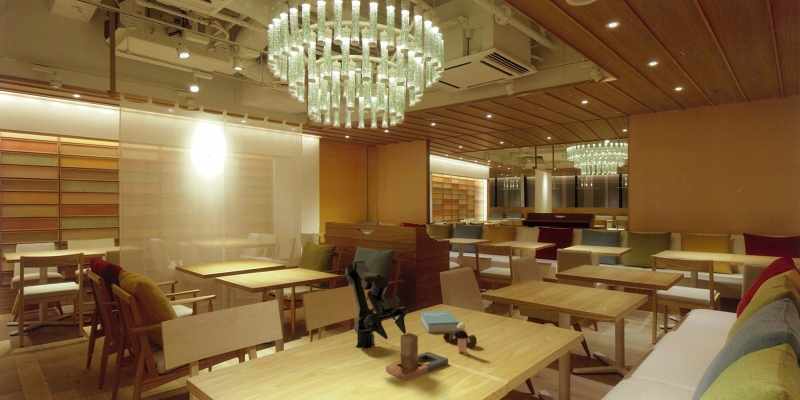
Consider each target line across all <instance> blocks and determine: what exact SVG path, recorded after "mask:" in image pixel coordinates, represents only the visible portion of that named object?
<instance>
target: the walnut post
mask: <svg viewBox="0 0 800 400" xmlns="http://www.w3.org/2000/svg"><path fill="white" fill-rule="evenodd" d="M418 336H419V335H417V334H414V333H410V332H408V333H407V332H406V333H405V334H404V333H403V334H401V335H400V361H401V367H402V368H404V369H406V370H412V369H415V368H417V367H418V355H419V343H418V342H419V340H418V338H419V337H418Z"/></svg>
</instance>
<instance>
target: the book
mask: <svg viewBox="0 0 800 400" xmlns="http://www.w3.org/2000/svg"><path fill="white" fill-rule="evenodd" d="M419 313H420V322H421V325H423V327H424V329H425V330H426V332H427V334H436V333H437V334H439V333H441V334H442V333H452V332H457V331H460V330H459V329H458V328H457V325H458V324H459V323H460V321H459V320H458V319H457V318H456V317H455V316H454V315H453V314H452V313H451V311H449V309H448V310H430V311H429V310H428V311H424V310H423V311H420V312H419Z"/></svg>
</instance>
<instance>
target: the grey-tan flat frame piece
mask: <svg viewBox="0 0 800 400" xmlns="http://www.w3.org/2000/svg"><path fill="white" fill-rule="evenodd" d="M424 361H427V362H428V363H422V362H424ZM447 365H449V358H447V357H445V356H442V355H439V354H437V353H433V352H430V351H425V352H423V353H418V367H417V368H415V369H412V370H406V369H404V368H402V367H401V360H400V361H397V362H393V363H391V364H388V365H385V372H386V373H388V374H389V375H392V376H395V377H396V378H399V379H401V380H404V381H409V380H411V379H414V378H416V377H419V376H422V375H424V374H427V373H430V372H431V371H435V370H436V369H439V368H441V367H444V366H447Z"/></svg>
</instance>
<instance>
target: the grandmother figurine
mask: <svg viewBox="0 0 800 400" xmlns="http://www.w3.org/2000/svg"><path fill="white" fill-rule="evenodd" d="M459 322H460V321H459ZM465 327H466V324H465V322H463V321H461V322H460V323H459V324H458V325H457V328H458V329H459V330H460V331H457V332H455V333H454V336H453V339H455V337H456V336H458V343H457V351H458V352H457V354H458V355H463V356H466V355H467V356H468V355H469V352H468V350H467V345H466V339H467V342H468V343H469V342H470V340H469V335H468V333H467V332H466V331H465ZM465 337H466V339H465Z"/></svg>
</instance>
